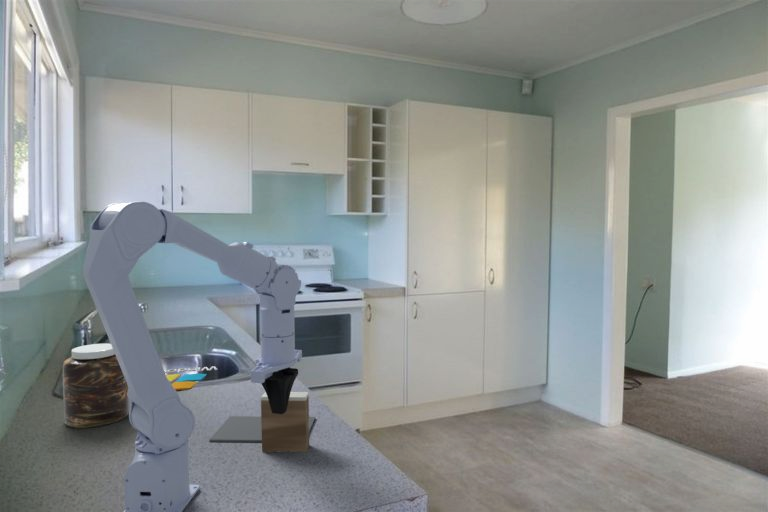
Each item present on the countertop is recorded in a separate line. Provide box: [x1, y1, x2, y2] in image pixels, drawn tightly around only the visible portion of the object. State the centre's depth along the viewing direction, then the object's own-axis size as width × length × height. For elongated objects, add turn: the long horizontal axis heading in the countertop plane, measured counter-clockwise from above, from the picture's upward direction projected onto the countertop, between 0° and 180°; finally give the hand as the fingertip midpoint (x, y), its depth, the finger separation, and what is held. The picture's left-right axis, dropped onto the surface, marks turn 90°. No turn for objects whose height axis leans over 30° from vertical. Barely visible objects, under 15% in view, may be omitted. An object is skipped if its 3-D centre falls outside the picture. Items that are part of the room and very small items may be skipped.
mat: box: [209, 415, 316, 443], centre depth 107 cm, size 12×18×1 cm, turn 88°
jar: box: [62, 342, 130, 429], centre depth 113 cm, size 12×12×15 cm
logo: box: [164, 365, 218, 392], centre depth 140 cm, size 23×1×20 cm
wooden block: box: [260, 391, 310, 453], centre depth 98 cm, size 3×8×10 cm, turn 88°
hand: (279, 412), depth 93 cm, fingers closed
